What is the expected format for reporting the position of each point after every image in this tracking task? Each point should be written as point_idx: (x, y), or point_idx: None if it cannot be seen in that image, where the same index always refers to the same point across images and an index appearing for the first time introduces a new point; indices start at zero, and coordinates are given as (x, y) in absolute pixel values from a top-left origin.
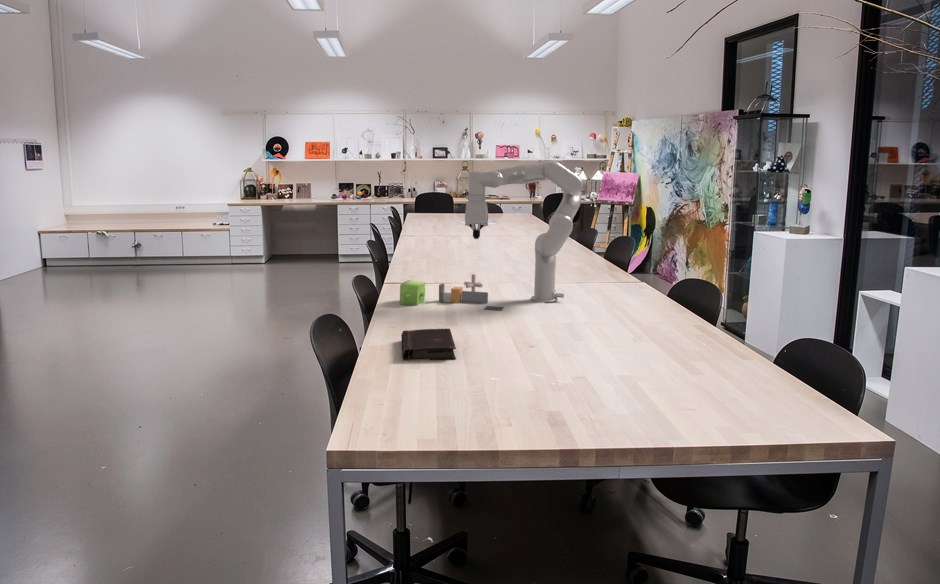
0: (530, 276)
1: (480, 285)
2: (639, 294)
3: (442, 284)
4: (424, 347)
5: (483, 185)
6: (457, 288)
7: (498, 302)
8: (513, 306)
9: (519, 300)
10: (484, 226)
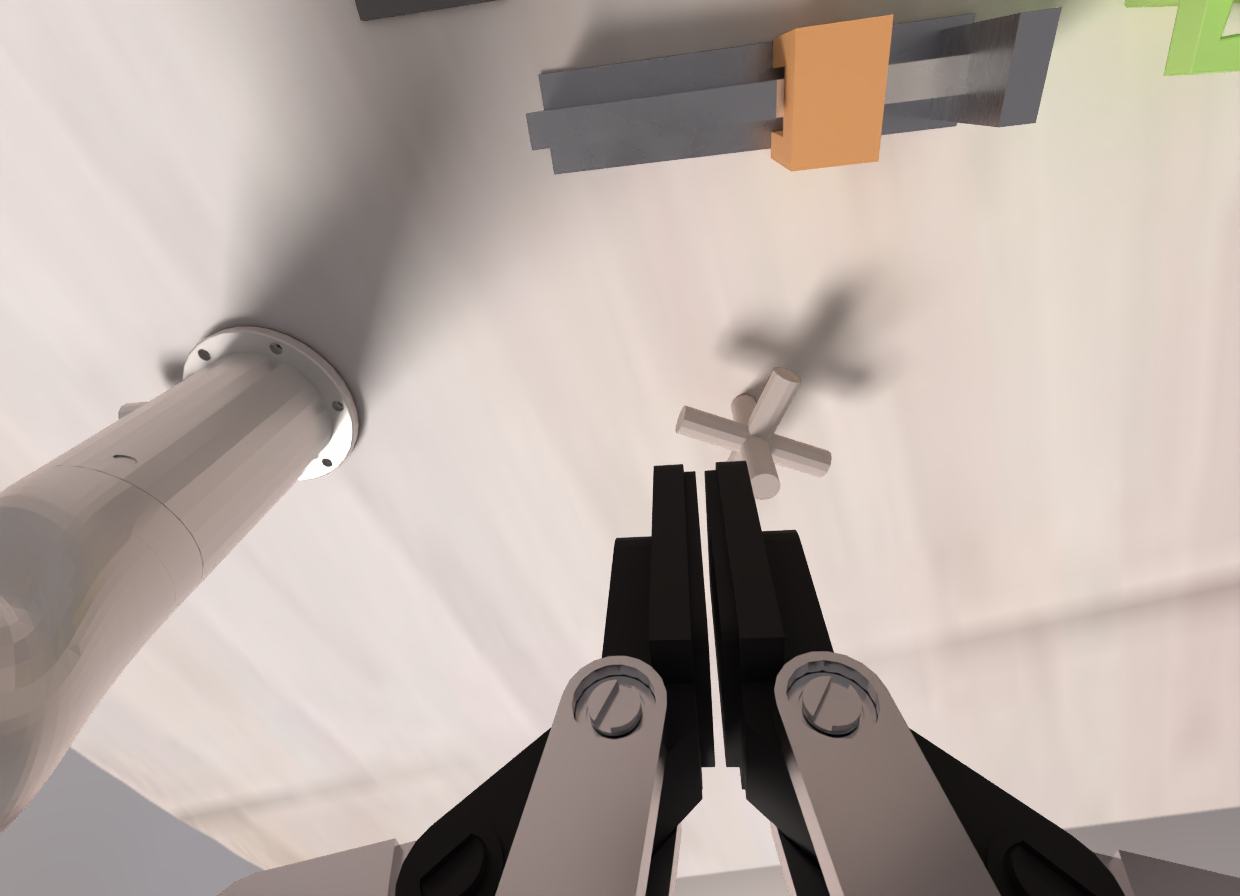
0: None
1: (686, 410)
2: None
3: (1018, 59)
4: None
5: None
6: (828, 73)
7: (496, 225)
8: (336, 121)
9: (401, 346)
10: (364, 851)
